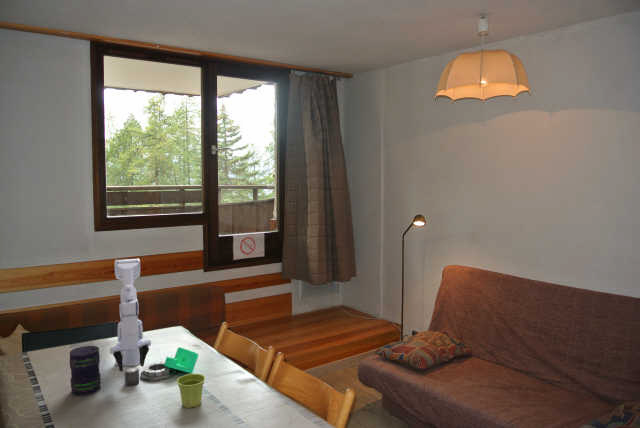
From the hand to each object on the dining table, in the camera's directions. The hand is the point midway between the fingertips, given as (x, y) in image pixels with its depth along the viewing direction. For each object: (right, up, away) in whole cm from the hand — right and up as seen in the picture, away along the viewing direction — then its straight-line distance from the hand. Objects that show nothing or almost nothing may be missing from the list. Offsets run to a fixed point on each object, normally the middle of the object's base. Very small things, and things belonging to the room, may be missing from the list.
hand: (131, 368), depth 178 cm
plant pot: (+27, -7, -17) cm, 33 cm away
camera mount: (+18, -2, +14) cm, 23 cm away
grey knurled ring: (+7, -5, +9) cm, 12 cm away
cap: (0, -6, 0) cm, 6 cm away
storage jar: (-15, -7, -5) cm, 17 cm away
